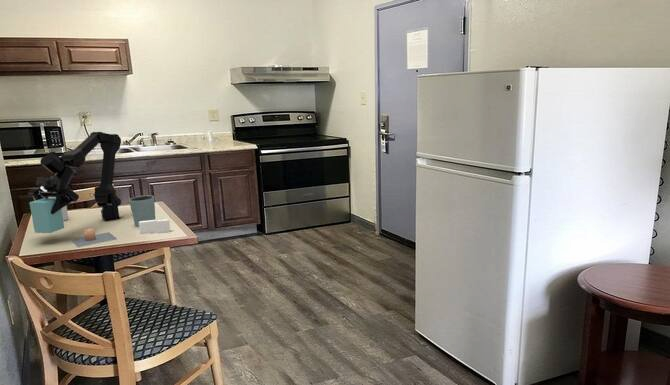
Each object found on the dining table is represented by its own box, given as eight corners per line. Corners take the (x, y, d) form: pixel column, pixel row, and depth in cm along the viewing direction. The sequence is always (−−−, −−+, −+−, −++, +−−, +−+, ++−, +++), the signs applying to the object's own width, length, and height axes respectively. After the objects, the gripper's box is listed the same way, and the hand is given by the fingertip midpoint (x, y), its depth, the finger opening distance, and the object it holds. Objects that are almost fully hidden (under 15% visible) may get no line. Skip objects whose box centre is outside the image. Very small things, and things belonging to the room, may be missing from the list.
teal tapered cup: (161, 221, 206) (158, 195, 204) (151, 227, 197) (148, 200, 194) (138, 221, 207) (135, 195, 204) (128, 228, 197) (124, 200, 194)
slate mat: (109, 232, 191) (108, 232, 191) (117, 239, 181) (117, 238, 181) (70, 240, 183) (70, 239, 183) (77, 248, 173) (77, 247, 173)
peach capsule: (94, 237, 185) (93, 227, 184) (96, 239, 182) (95, 229, 181) (84, 239, 182) (83, 229, 182) (86, 241, 180) (85, 231, 179)
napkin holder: (131, 236, 187) (129, 222, 186) (152, 228, 197) (150, 215, 196) (160, 239, 181) (159, 225, 180) (180, 231, 192) (178, 217, 190)
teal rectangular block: (49, 227, 185) (44, 198, 182) (64, 227, 183) (59, 198, 181) (34, 232, 178) (29, 202, 176) (50, 233, 177) (44, 202, 174)
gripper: (27, 168, 181) (7, 202, 173) (68, 168, 177) (49, 203, 169) (47, 183, 191) (29, 217, 183) (86, 184, 186) (69, 218, 178)
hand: (43, 213), depth 178 cm, fingers closed on teal rectangular block, 7 cm apart
